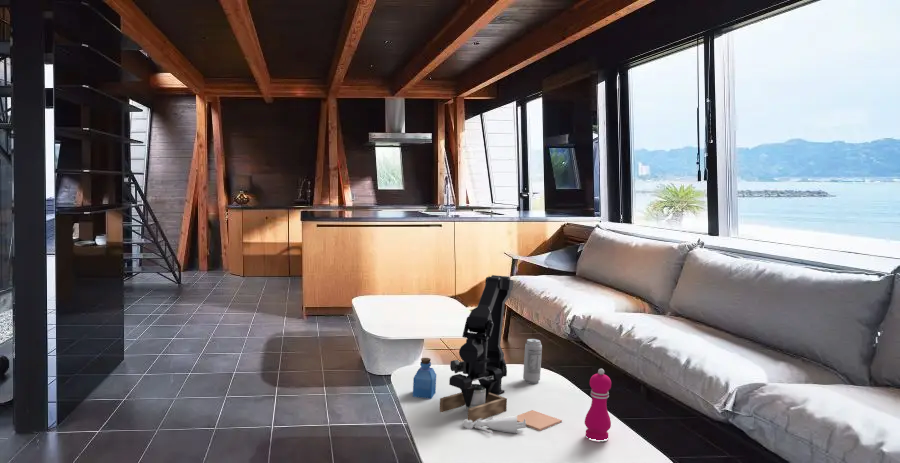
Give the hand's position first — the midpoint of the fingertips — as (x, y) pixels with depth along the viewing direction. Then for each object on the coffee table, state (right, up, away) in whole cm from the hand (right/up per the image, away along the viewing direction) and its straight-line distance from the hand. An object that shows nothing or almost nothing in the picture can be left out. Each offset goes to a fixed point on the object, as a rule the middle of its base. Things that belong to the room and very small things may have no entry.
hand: (475, 404), depth 201 cm
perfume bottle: (-16, -1, +13) cm, 21 cm away
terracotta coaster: (+18, -3, -6) cm, 19 cm away
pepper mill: (+34, -5, -17) cm, 38 cm away
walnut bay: (-1, -2, -1) cm, 2 cm away
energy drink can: (+22, -1, +33) cm, 40 cm away
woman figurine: (+5, -4, -14) cm, 15 cm away
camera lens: (0, -2, 0) cm, 2 cm away
